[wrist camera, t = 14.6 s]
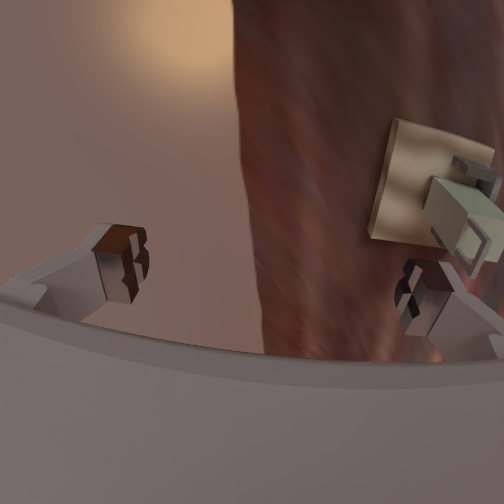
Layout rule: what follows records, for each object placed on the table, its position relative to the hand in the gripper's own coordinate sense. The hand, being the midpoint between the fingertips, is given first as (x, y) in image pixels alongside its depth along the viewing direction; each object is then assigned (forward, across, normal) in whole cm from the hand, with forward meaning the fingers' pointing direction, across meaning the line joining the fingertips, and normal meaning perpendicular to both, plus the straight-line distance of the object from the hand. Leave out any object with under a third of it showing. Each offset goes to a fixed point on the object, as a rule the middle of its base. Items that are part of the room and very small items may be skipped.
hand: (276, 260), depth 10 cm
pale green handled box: (+29, -22, +7) cm, 37 cm away
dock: (+31, -21, +7) cm, 38 cm away
